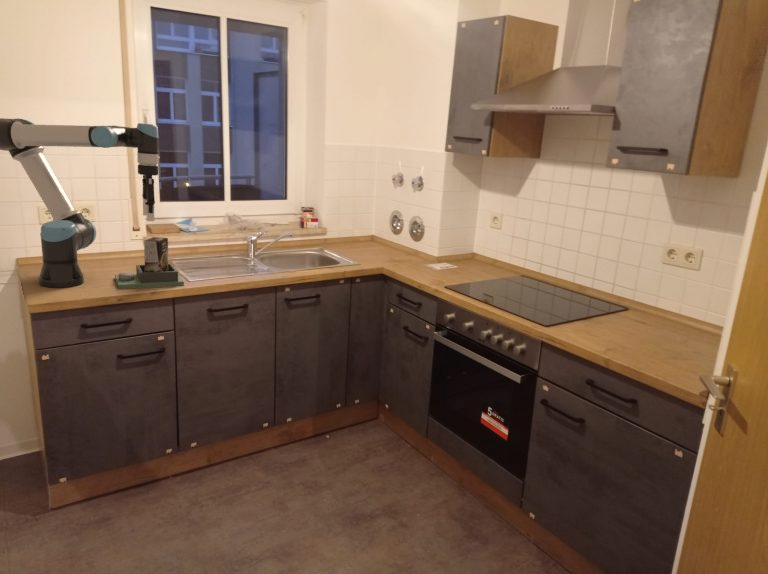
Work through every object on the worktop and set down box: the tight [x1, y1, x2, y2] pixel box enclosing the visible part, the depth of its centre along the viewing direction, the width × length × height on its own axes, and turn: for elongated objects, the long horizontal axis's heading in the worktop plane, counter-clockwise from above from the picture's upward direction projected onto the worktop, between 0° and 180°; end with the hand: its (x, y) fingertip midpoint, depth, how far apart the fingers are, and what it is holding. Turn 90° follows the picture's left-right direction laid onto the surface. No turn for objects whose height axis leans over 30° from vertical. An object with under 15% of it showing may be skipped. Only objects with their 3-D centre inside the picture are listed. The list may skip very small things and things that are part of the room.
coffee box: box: [143, 236, 169, 272], centre depth 232 cm, size 9×6×16 cm
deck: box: [114, 263, 185, 290], centre depth 232 cm, size 24×16×6 cm, turn 119°
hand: (148, 218), depth 230 cm, fingers open, 13 cm apart
